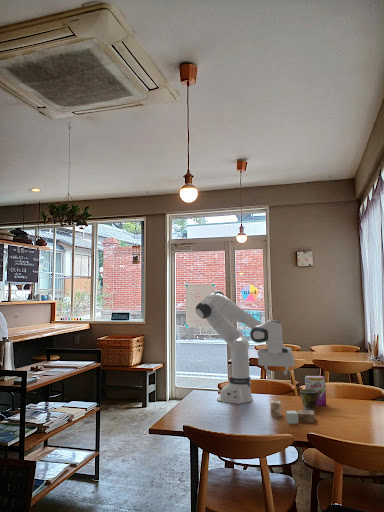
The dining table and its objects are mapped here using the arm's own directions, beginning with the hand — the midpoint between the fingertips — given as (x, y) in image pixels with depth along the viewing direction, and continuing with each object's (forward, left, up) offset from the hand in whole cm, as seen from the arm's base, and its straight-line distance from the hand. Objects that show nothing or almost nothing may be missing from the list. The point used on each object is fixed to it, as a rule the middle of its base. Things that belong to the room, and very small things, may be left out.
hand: (276, 374), depth 214 cm
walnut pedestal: (+15, -8, -21) cm, 27 cm away
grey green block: (+8, -13, -21) cm, 26 cm away
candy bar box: (+20, +24, -21) cm, 38 cm away
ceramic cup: (+16, +13, -21) cm, 30 cm away
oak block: (-1, -3, -21) cm, 21 cm away
